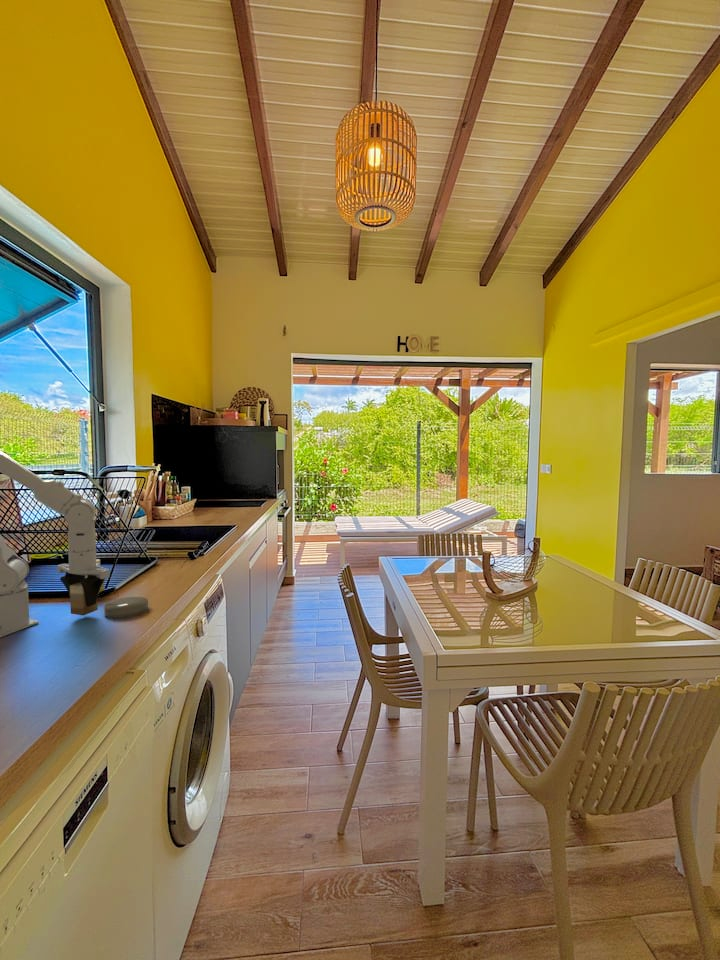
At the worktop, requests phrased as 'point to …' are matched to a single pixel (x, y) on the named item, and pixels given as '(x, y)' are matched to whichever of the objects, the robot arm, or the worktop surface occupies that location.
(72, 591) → the block
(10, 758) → the worktop surface
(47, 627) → the worktop surface
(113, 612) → the stand
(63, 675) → the worktop surface
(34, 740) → the worktop surface
